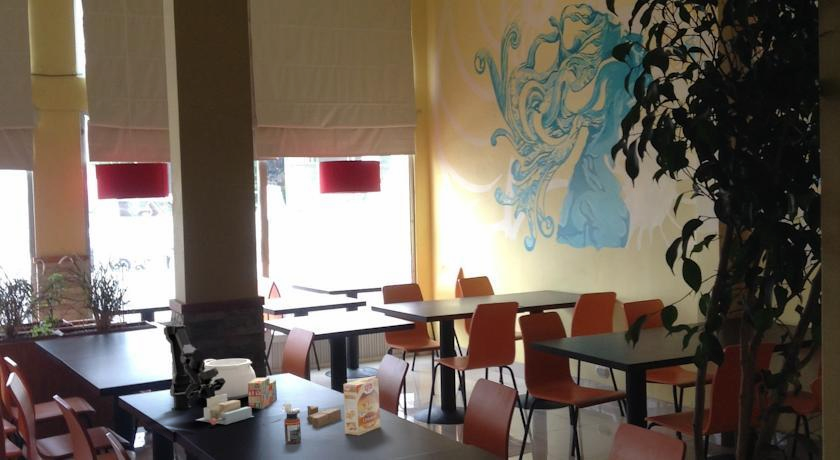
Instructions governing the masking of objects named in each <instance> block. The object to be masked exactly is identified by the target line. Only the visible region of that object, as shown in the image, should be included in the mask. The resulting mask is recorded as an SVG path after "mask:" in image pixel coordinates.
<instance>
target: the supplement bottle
mask: <svg viewBox="0 0 840 460" xmlns="http://www.w3.org/2000/svg"><path fill="white" fill-rule="evenodd" d="M285 417H286V418H285V419H284V420H283V421H284V422H283V423H284V426H283V427H284V441H285V443H286V444H288V445H289V444H290V445H292V444H293V445H294V444H299V443H301V441H302V435H301V434H302V432H301V429H302V428H301V418H300V417H298V412H294V411H293V412H292V411H291V412H286V416H285Z"/></svg>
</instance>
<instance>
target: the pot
mask: <svg viewBox="0 0 840 460" xmlns="http://www.w3.org/2000/svg"><path fill="white" fill-rule="evenodd" d="M251 364H253V361H251V359H249V358H224V359H223V358H222V359H214V358H208V359H205V360H204V363H203V365H204V370H203V372H205V371H208V370H211V369H212V368H216V369H217V370H218V374H217V376H216V377H213V378H212V381H211V382H210V383H213V382H214V381H215V379H219V378H224V380H225V381H226V382H225V384H224V385H223V387H222V388H221V389H220V390H218V391H215V396H218V395H222V394H227V401H231V400H238V399H242V398H243V399H244V398H247V397H248V383H249V382H251V381H252V380H254V379H256V378H257V376H256V373H255V370H254V369H253V367H252V366H251Z"/></svg>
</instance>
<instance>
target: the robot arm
mask: <svg viewBox="0 0 840 460" xmlns="http://www.w3.org/2000/svg"><path fill="white" fill-rule="evenodd" d="M163 334H164V336H165V339H166V340H167V342H168V344H170V349H171V357H172V364H173V371H174V376H173V378H172V380H171V383H172V384H171V386H170V390H169V395H170V396H171V397H172V398H173V405H174V406H173V407H171V410H178V411H182V410H186V409H191V408H192V406H191V405H190V404H189V403H190V401H189V399H190V398H193V397H194V393H196V392H198V395H197V396H198V397H200V398H203V399H205V400H207V398H210V397H214V396H215V391H218V390H220V389H221V388H222V387H223V385H224V384H225V382H226V381H225V380H224V378H219V379H215V381H214V382H213V383H210V382H211V381H212V378H213V377H216V376H217V374H218V370H217V369H216V368H212V369H211V370H208V371H205V372H204V370H203V369H202V368H203V365H204V364H205V363H204V360H206V354H204V352H202V351H200V350H199V349H197V348H195V346H193V345H192V343H191V342H190V340H189V339H190V338H189V336H188V334H187V332H186V326H185V325H183V324H181V323H173V324H166V325H165V327H164V328H163ZM185 366H186V368H185Z"/></svg>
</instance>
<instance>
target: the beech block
mask: <svg viewBox="0 0 840 460" xmlns="http://www.w3.org/2000/svg"><path fill="white" fill-rule="evenodd" d="M240 408H241V400H238V399H232V400H227V402H224V403H220V404H218V419H220V418H222V413H225V412H229V411H232V410H236V409H240Z"/></svg>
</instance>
